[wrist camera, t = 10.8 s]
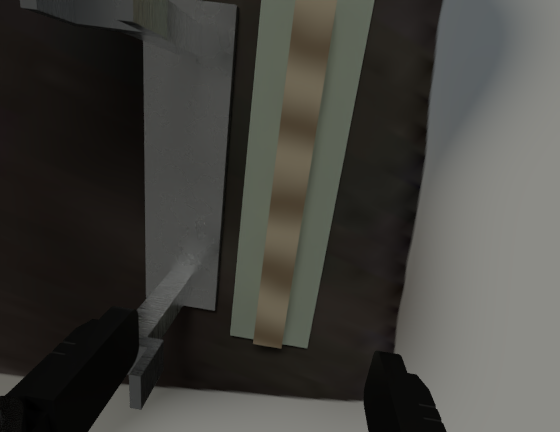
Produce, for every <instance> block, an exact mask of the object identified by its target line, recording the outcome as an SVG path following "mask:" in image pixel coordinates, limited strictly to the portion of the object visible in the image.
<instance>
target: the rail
mask: <svg viewBox="0 0 560 432" xmlns="http://www.w3.org/2000/svg"><path fill="white" fill-rule="evenodd" d="M336 5H337V0H295V7H294V15H293V24H292V32H291V40H290V48H289V56H288V64H287V72H286V80H285V88H284V96H283V104H282V113H281V121H280V129H279V137H278V145H277V153H276V161H275V169H274V177H273V185H272V193H271V202H270V210H269V218H268V226H267V234H266V242H265V250H264V258H263V266H262V274H261V282H260V290H259V299H258V307H257V315H256V323H255V331H254V339H253V344H257V345H263V346H269V347H275V348H280V349H281V347H282V341H283V335H284V328H285V322H286V316H287V310H288V304H289V297H290V291H291V285H292V279H293V272H294V266H295V260H296V254H297V247H298V241H299V235H300V229H301V223H302V216H303V210H304V204H305V198H306V191H307V185H308V179H309V173H310V167H311V160H312V154H313V148H314V142H315V135H316V129H317V123H318V117H319V111H320V104H321V98H322V92H323V86H324V79H325V73H326V67H327V61H328V55H329V48H330V42H331V36H332V30H333V23H334V17H335V11H336Z"/></svg>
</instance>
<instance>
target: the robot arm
mask: <svg viewBox="0 0 560 432" xmlns="http://www.w3.org/2000/svg"><path fill="white" fill-rule="evenodd" d="M138 351H139V317H138V312H137V310H134V309H128V308H122V307H116V306H114V307H111V308H110V309H109V310H108V311H107V312H106V313H105V314H104V315H103V316H102V317H101V318H100V319H99V320H95V319H92V320H90V321H89V322H87V323H85V324H83V325H81V326H79V327H78V328H76V329H75V330H74V331H73V332H72V333H71V334H70V335H69V336H67V337H66V338H65V339H64V340H63V343H60V344H59V345H58V346H57V347H56V348H55V349H54V350H53V352H52V353H50V354H49V355H47V356H46V357H45V358H44V359H43V360H42V361H41V362H40V363H39V364H38V365H37V366H36V367H35V368H34V369H33V370H32V371H31V372H30V373H29V374H27V375H26V376H25V377H24V378H23V379H22V380H21V381H20V382H19V383H18V384H17V385H16V386H15V387H14V388H13V389H12V390H11V391H10V392H9V393H8V394H6V395H5V396H0V432H88V431H89V429H90V428H91V426H92V425H93V424H94V422H95V420H96V419H97V418H98V416H99V414H100V413H101V412H102V410H103V409H104V407H105V406H106V404H107V403H108V401H109V400H110V399H111V397H112V396H113V394H114V393H115V391H116V390H117V388H118V387H119V385H120V384H121V383H122V381H123V380H124V378H125V377H126V375H127V374H128V372H129V371H130V369H131V368H132V366H133V365H134V363H135V361H136V358H137V355H138ZM364 409H365V414H366V420H367V425H368V431H369V432H446V429H445V427H444V424H443V423H442V422H441V417H440V415H439V412H438V410H437V409H436V406H435V403H434V401H433V398H432V396H431V393H430V391H429V389H428V388H427V387H426V385H425V384H424V383H423V382H422V381H421V379H420V378H419V377H418V376H417V375H415V374H410V373H407V371H406V367H405V365H404V362H403V359H402V357H401V355H399V354H394V353H388V352H382V351H375V353H374V355H373V359H372V362H371V366H370V369H369V373H368V376H367V380H366V384H365V388H364Z"/></svg>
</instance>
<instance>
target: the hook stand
mask: <svg viewBox="0 0 560 432" xmlns="http://www.w3.org/2000/svg"><path fill="white" fill-rule="evenodd" d="M20 5H21V8H24V9H26V10H29V11H32V12H35V13H38V14H41V15H44V16H47V17H50V18H52V19H55V20H58V21H61V22H64V23H67V24H70V25H73V26H77V27H85V28H93V29H101V30H108V31H116V32H122V33H125V34H127V35H130V36H132V37H135V38H137V39H140V40H142V41H143V66H144V153H145V241H146V300H145V301H144V302H143V303H142V305H141V306H140V307H139V308H138V309H137V312H138V317H139V351H138V355H137V358H136V361H135V363H134V365H133V366H132V368H131V369H130V371H129V372H128V374H127V375H129V390H130V408H135V409H142V407H143V405H144V404H145V402H146V400H147V398H148V397H149V395H150V393H151V391H152V389H153V388H154V386H155V384H156V382H157V381H158V379H159V377H160V375H161V373H162V372H163V360H164V340H161V339H162V337H163V336H164V334H165V333H166V331H167V330H168V328H169V327H170V325H171V324H172V322H173V320H174V319H175V317H176V316H177V314H178V313H179V311H180V310H181V308H182V307H183V306H189V307H195V308H201V309H207V310H213V311H215V309H216V307H217V302H218V288H219V275H220V261H221V248H222V234H223V221H224V208H225V194H226V181H227V167H228V154H229V140H230V127H231V114H232V100H233V87H234V73H235V60H236V47H237V33H238V20H239V7H238V6H237V5H233V4H225V3H216V2H208V1H200V0H20Z"/></svg>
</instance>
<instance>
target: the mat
mask: <svg viewBox="0 0 560 432" xmlns="http://www.w3.org/2000/svg"><path fill="white" fill-rule="evenodd" d="M373 5H374V0H337V5H336V11H335V17H334V23H333V30H332V36H331V42H330V48H329V55H328V61H327V67H326V73H325V79H324V86H323V92H322V98H321V104H320V111H319V117H318V123H317V129H316V135H315V142H314V148H313V154H312V160H311V167H310V173H309V179H308V185H307V191H306V198H305V204H304V210H303V216H302V223H301V229H300V235H299V241H298V247H297V254H296V260H295V266H294V272H293V279H292V285H291V291H290V297H289V304H288V310H287V316H286V322H285V328H284V335H283V341H282V344H284V345H290V346H296V347H302V348H307V347H308V341H309V336H310V331H311V326H312V321H313V316H314V310H315V305H316V300H317V295H318V290H319V284H320V279H321V274H322V269H323V264H324V259H325V253H326V248H327V243H328V238H329V233H330V228H331V222H332V217H333V212H334V207H335V202H336V197H337V191H338V186H339V181H340V176H341V171H342V166H343V160H344V155H345V150H346V145H347V140H348V135H349V129H350V124H351V119H352V114H353V109H354V104H355V98H356V93H357V88H358V83H359V78H360V73H361V67H362V62H363V57H364V52H365V47H366V42H367V36H368V31H369V26H370V21H371V16H372V11H373ZM294 7H295V0H261V10H260V21H259V31H258V42H257V53H256V64H255V74H254V85H253V96H252V106H251V117H250V128H249V138H248V149H247V160H246V171H245V181H244V192H243V203H242V213H241V224H240V235H239V245H238V256H237V267H236V277H235V288H234V299H233V310H232V320H231V331H230V335H231V336H237V337H243V338H249V339H254V331H255V323H256V315H257V307H258V299H259V290H260V282H261V274H262V266H263V258H264V250H265V242H266V234H267V226H268V218H269V210H270V202H271V193H272V185H273V177H274V169H275V161H276V153H277V145H278V137H279V129H280V121H281V113H282V104H283V96H284V88H285V80H286V72H287V64H288V56H289V48H290V40H291V32H292V24H293V15H294Z"/></svg>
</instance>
